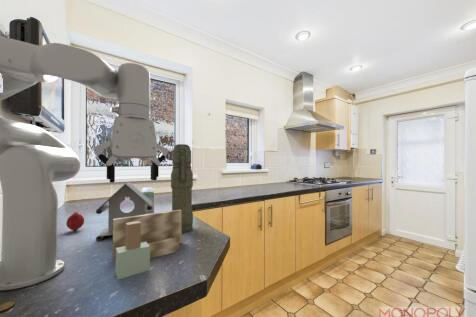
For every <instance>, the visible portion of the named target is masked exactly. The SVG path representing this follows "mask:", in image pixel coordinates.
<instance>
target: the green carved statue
mask: <svg viewBox="0 0 476 317" xmlns="http://www.w3.org/2000/svg"><path fill="white" fill-rule="evenodd" d="M171 155H172V157H171V158H172V161H171V162H172V171H171V174H170V188H171V211H173V210H182V233H189V232H191V231H193V226H194V225H193V224H194V212H193V210H192V209H193V204H192V200H193V197H192V196H193V195H192V191H193V189H192V188H193V184H194V180H193V178H194V173H193V170H192V150H191V147H190V145H188V144H185V143H184V144H183V143H180V144H179V143H178V144H176V145H174V147H173V149H172V154H171Z"/></svg>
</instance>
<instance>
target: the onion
mask: <svg viewBox="0 0 476 317" xmlns="http://www.w3.org/2000/svg"><path fill="white" fill-rule="evenodd" d="M84 223H85V217H84V216H83V215H82V214H81V213H79V211H77V210H76V211H74V212H73V214H71V215H70V216H68V218H67V219H66V227H67V228H68V229H69V230H71V231H74V232H76V231H78V230H79V229H81V228H82V226H84Z"/></svg>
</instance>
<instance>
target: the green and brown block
mask: <svg viewBox="0 0 476 317" xmlns="http://www.w3.org/2000/svg"><path fill="white" fill-rule="evenodd" d="M150 260H151V259H150V246H149V245H148V243H147V242H142V243H141V223H140V222H139V221H135V222H128V223H126V244H125V246H123V247H118V248H116V259H115V275H116V279H117V280H121V279H125V278H127V277H131V276H134V275H135V276H136V275H138V274H142V273H145V272H148V271H150V270H151V267H150V266H151V264H150V263H151V261H150Z"/></svg>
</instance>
